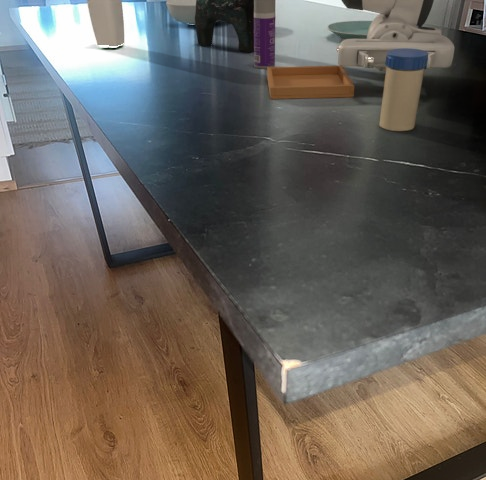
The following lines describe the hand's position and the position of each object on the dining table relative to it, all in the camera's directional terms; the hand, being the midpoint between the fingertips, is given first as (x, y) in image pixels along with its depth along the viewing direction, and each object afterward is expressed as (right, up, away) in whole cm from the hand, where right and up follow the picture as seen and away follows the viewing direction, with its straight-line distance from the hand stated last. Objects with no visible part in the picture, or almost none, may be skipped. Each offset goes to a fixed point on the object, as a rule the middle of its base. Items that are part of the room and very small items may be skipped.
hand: (397, 63), depth 90 cm
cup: (-62, +26, +50) cm, 84 cm away
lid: (-2, -3, -11) cm, 12 cm away
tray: (-14, +2, +15) cm, 20 cm away
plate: (+7, +29, +53) cm, 61 cm away
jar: (-2, -12, -5) cm, 13 cm away
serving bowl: (-40, +45, +77) cm, 98 cm away
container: (-22, +12, +30) cm, 39 cm away
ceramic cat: (-31, +23, +46) cm, 60 cm away
